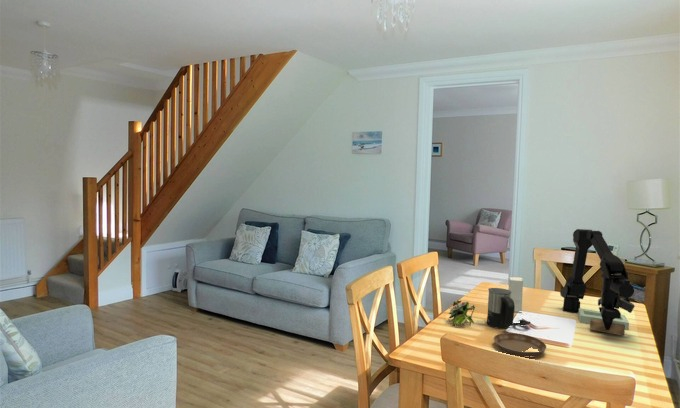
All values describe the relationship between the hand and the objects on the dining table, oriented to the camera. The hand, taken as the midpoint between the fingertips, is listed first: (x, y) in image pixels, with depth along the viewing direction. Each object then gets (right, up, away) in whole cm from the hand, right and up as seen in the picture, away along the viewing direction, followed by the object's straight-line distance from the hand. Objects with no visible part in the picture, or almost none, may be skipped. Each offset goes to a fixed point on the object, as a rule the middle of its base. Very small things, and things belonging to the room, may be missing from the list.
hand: (606, 328), depth 182 cm
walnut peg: (0, -1, 0) cm, 1 cm away
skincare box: (-27, +1, +27) cm, 38 cm away
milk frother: (-39, 0, +4) cm, 39 cm away
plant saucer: (-44, -2, -20) cm, 48 cm away
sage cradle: (+7, -1, +15) cm, 16 cm away
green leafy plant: (-58, 0, +5) cm, 58 cm away
